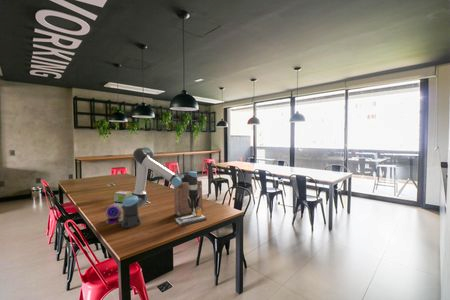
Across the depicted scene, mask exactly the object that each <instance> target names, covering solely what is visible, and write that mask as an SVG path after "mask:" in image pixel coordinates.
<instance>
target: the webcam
mask: <svg viewBox="0 0 450 300" xmlns="http://www.w3.org/2000/svg"><path fill="white" fill-rule="evenodd" d="M121 215H123V207H121V206H120V205H118V204H114V203H112V204H109V206H107V208H106V209H105V216H106V217H107V219H106V220H105V223H106V224H115V223H120V222H122V220H123V216H121Z"/></svg>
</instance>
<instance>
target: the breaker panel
mask: <svg viewBox="0 0 450 300" xmlns="http://www.w3.org/2000/svg"><path fill="white" fill-rule="evenodd" d="M202 218H206V216H204V215H203V214H202V216H198V217H197V216H196V214H195V216H193V215H190V216H185V217H181V218H176V220H175V221H176V223H178V225H180V226H181V223H186V222H190V221H194V220H198V219H202Z"/></svg>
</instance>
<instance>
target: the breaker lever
mask: <svg viewBox="0 0 450 300" xmlns="http://www.w3.org/2000/svg"><path fill="white" fill-rule="evenodd" d="M202 211H203V209H202V210H201V209H200V208H197V209H196V212H195V213H196V216H197V217H198V216H202V215H203V214H202Z"/></svg>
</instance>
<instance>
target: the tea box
mask: <svg viewBox="0 0 450 300" xmlns="http://www.w3.org/2000/svg"><path fill="white" fill-rule="evenodd" d="M132 193H133V192H132V191H126V190H119V191H116V192H113V199H114V200H113V202H114V203H113V204H118V205H120V206H121V207H122V208H123V199H124V198H125V197H127V196H130V195H132Z"/></svg>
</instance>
